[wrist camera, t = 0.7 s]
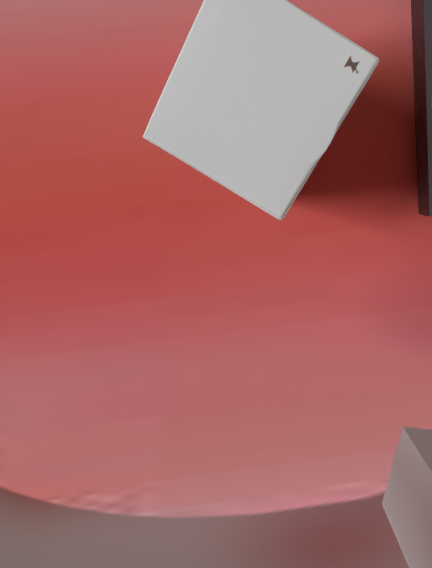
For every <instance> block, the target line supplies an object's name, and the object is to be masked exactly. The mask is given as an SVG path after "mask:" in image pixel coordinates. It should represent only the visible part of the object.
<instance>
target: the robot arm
mask: <svg viewBox="0 0 432 568" xmlns="http://www.w3.org/2000/svg"><path fill="white" fill-rule="evenodd" d="M382 505H383V508H384V510H385V512H386V515H387V517H388V519H389V521H390V524H391V526H392V529H393V531H394V533H395V536H396V538H397V540H398V543H399V545H400V547H401V549H402V552H403V554H404V557H405V559H406V561H407V564H408V566H409V568H432V430H429V429H419V428H409V427H403V429H402V432H401V436H400V440H399V443H398V447H397V451H396V454H395V458H394V462H393V465H392V469H391V473H390V476H389V480H388V484H387V487H386V491H385V495H384V499H383V502H382Z"/></svg>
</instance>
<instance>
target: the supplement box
mask: <svg viewBox="0 0 432 568" xmlns="http://www.w3.org/2000/svg"><path fill="white" fill-rule="evenodd" d="M378 63H379V58H378V57H376V56H375V55H373V54H372V53H370V52H368V51H367V50H365V49H364V48H362V47H361V46H359V45H357V44H356V43H354V42H353V41H351V40H349V39H348V38H346V37H345V36H343V35H341V34H340V33H338V32H337V31H335V30H333V29H332V28H330V27H329V26H327V25H325V24H324V23H322V22H321V21H319V20H317V19H316V18H314V17H313V16H311V15H309V14H308V13H306V12H305V11H303V10H301V9H300V8H298V7H297V6H295V5H293V4H292V3H290V2H289V1H287V0H204V1H203V4H202V6H201V8H200V10H199V12H198V15H197V17H196V19H195V21H194V23H193V26H192V28H191V30H190V32H189V34H188V37H187V39H186V41H185V43H184V45H183V48H182V50H181V52H180V54H179V56H178V59H177V61H176V63H175V65H174V67H173V70H172V72H171V74H170V76H169V78H168V81H167V83H166V85H165V87H164V90H163V92H162V94H161V96H160V98H159V101H158V103H157V105H156V107H155V110H154V112H153V114H152V116H151V119H150V121H149V123H148V126H147V128H146V130H145V132H144V135H143V138H145V139H146V140H148V141H150V142H151V143H153V144H155V145H156V146H158V147H160V148H161V149H163V150H165V151H166V152H168V153H170V154H171V155H173V156H175V157H176V158H178V159H180V160H181V161H183V162H184V163H186V164H188V165H189V166H191V167H193V168H194V169H196V170H198V171H199V172H201V173H203V174H204V175H206V176H208V177H209V178H211V179H212V180H214V181H216V182H217V183H219V184H221V185H222V186H224V187H226V188H227V189H229V190H231V191H232V192H234V193H236V194H237V195H239V196H241V197H242V198H244V199H246V200H247V201H249V202H251V203H252V204H254V205H255V206H257V207H259V208H260V209H262V210H264V211H265V212H267V213H269V214H270V215H272V216H274V217H275V218H277V219H279V220H282V219H283V218H284V217H285V215H286V214H287V212H288V210H289V209H290V207H291V205H292V204H293V202H294V201H295V199H296V197H297V196H298V194H299V192H300V191H301V189H302V187H303V186H304V184H305V183H306V181H307V179H308V178H309V176H310V174H311V173H312V171H313V170H314V168H315V166H316V165H317V163H318V161H319V160H320V158H321V157H322V155H323V154H324V152H325V151H326V150H327V148H328V146H329V145H330V143H331V141H332V139H333V137H334V135H335V134H336V132H337V130H338V129H339V127H340V125H341V124H342V122H343V121H344V119H345V117H346V116H347V114H348V112H349V111H350V109H351V107H352V106H353V104H354V102H355V101H356V99H357V98H358V96H359V94H360V93H361V91H362V90H363V88H364V86H365V85H366V83H367V81H368V80H369V78H370V76H371V75H372V73H373V72H374V70H375V68H376V67H377V65H378Z"/></svg>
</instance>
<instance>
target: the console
mask: <svg viewBox="0 0 432 568" xmlns="http://www.w3.org/2000/svg"><path fill="white" fill-rule="evenodd" d="M411 11H412V39H413V67H414V95H415V123H416V151H417V179H418V206H419V214H422V215H426V216H432V0H411Z"/></svg>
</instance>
